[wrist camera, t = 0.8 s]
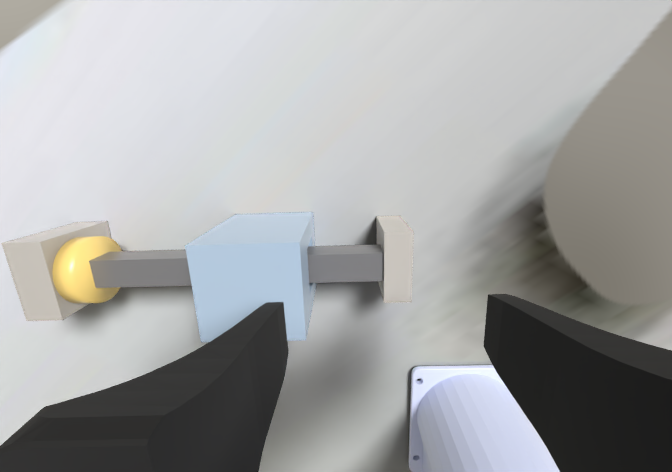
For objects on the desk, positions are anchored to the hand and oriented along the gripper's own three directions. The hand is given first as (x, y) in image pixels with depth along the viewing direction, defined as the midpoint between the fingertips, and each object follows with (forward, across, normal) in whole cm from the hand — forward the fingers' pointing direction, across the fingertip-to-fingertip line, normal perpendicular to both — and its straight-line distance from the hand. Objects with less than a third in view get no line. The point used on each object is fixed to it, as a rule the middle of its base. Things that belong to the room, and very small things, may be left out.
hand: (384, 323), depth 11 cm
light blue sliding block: (+10, +6, 0) cm, 11 cm away
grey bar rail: (+10, +9, 0) cm, 13 cm away
